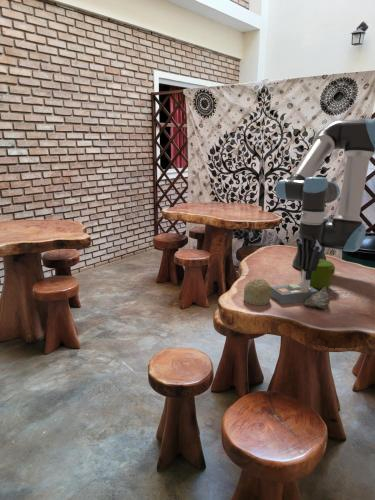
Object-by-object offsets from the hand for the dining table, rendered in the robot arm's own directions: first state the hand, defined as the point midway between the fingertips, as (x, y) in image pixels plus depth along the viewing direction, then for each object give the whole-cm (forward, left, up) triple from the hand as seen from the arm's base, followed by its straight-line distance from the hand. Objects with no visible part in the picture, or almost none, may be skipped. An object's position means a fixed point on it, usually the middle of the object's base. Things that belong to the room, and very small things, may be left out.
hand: (304, 287), depth 130 cm
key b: (+4, 0, -1) cm, 5 cm away
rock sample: (+1, +9, -4) cm, 10 cm away
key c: (+9, 0, -2) cm, 9 cm away
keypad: (+4, 0, -4) cm, 6 cm away
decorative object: (+18, -1, -4) cm, 19 cm away
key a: (0, 0, -2) cm, 2 cm away
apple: (-11, -8, -4) cm, 14 cm away
